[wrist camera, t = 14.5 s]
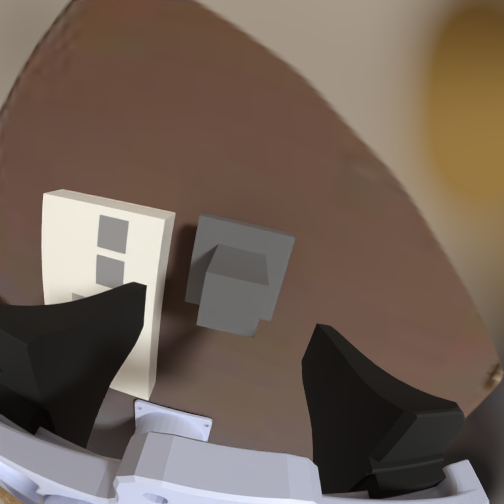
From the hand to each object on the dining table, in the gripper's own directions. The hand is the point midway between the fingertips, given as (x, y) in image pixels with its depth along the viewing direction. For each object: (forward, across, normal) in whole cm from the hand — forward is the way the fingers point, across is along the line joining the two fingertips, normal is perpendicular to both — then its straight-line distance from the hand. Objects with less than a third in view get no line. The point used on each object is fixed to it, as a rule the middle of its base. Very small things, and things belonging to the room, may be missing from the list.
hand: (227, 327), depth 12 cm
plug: (+9, 0, 0) cm, 9 cm away
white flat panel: (+9, +10, +6) cm, 15 cm away
